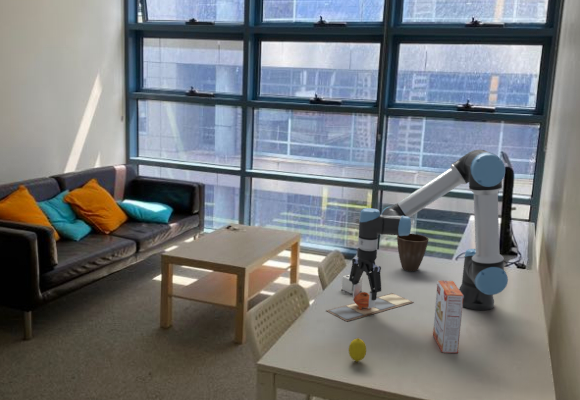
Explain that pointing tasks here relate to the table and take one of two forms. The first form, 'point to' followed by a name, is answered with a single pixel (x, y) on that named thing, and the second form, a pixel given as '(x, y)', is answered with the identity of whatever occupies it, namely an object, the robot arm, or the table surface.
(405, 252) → the plant pot
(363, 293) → the pot
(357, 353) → the lemon
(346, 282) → the die
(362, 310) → the board
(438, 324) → the cracker box
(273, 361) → the table surface
